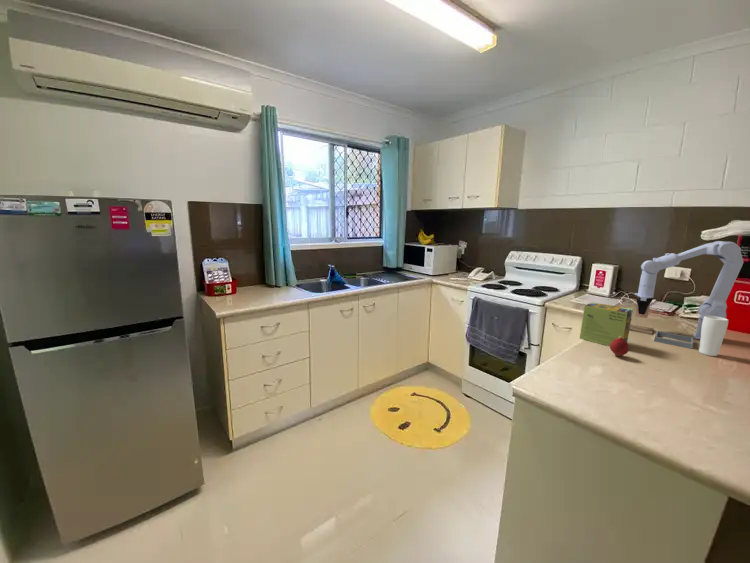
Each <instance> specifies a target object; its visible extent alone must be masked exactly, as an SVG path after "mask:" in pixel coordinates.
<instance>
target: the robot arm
mask: <svg viewBox="0 0 750 563" xmlns="http://www.w3.org/2000/svg"><path fill="white" fill-rule="evenodd" d="M702 255H713V256H715V257H717V258H718V259H719V260H720V261H721V262H722V263H723V265H722V268H721V269H720V272H719V274H718V277H717V279H716V280H715V283H714V286H713V288H712V290H711V293H710V295H709V296H708V298H706V299H705V300H704V302H703V303H702V304H701V305H699V307H698V308H697V312H698V313H699V316H698V321H697V325H696V329H695V332H694V333H693V339H696V340H700V338H701V327H702V322H703V318H704V316H717V317H722V318H726V319H727V309H728V305H727V300H728V298H729V295H730V293H731V291H732V289H733V287H734V284H735V282H736V279H737V278H738V275H739V273H740V271H741V269H742V267H743V264H744V259H743V256H742V255H743V254H742V248H741V247H740V246H739V245H738V244H737V243H736V242H733V241H722V240H715V241H713V242H709V243H708V242H707V243H705V244H700V245H699V246H696V247H693V248H691V249H688V250H685V251H683V252H679V253H672V252H671V253H669V252H667V253H664V255H663V256H660V257H653V258H652V260H645V261H643V263H641V265H640V268H641V274H640V279H639V284H638V290H637V291H638V292H635V293H634V296H638V297H637V298H636V299H635V301H636V303H637V304H638V312H639V314H643V315H644V314H645V312H646V310H647V307H648V306H649V304H650V305H651V303H652V301H654V294H655V289H656V288H655V287H656V283H657V276H658V273H659V272H660V271H661V270H665V269H668V268H671V267H674V266H678V265H679V264H680V263H681V262H682V261H683V260H688V259H691V258H694V257H695V258H696V257H698V256H702ZM637 304H636V305H637Z"/></svg>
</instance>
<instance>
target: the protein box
mask: <svg viewBox="0 0 750 563" xmlns="http://www.w3.org/2000/svg"><path fill="white" fill-rule="evenodd" d="M633 311H634V308H630V307H629V308H628V307H623V306H617V305H612V304H605V303H599V302H590V303H587V304H585V305H584V307H583V313H582V320H581V326H580V327H581V328H580V333H579V339H580V340H583V341H587V342H591V343H595V342H596V343H595V344H599V343H600V344H599V345H603V344H604V345H603V346H607V345H608V347H610V343H611V342H612V341H613V340H615V339H617V338H618V337H619V336H621V337H622V338H623V339H624V340H625V341H626V342H627V343H628V341H629V334H630V330H629V329H630V324H631V323H632V316H633Z"/></svg>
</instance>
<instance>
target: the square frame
mask: <svg viewBox="0 0 750 563" xmlns="http://www.w3.org/2000/svg"><path fill="white" fill-rule="evenodd" d="M659 336H660V337H659ZM664 337H665V338H664ZM679 340H680V341H679ZM653 342H658V343H662V344H666V345H667V344H668V345H671V346H676V347H681V348H686V349H693V347H694V336H693V337H692V336H689V335H682V334H677V333H671V332H666V331H662V330H657V331H656V332H655V336H654V340H653ZM689 342H690V343H689Z"/></svg>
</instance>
